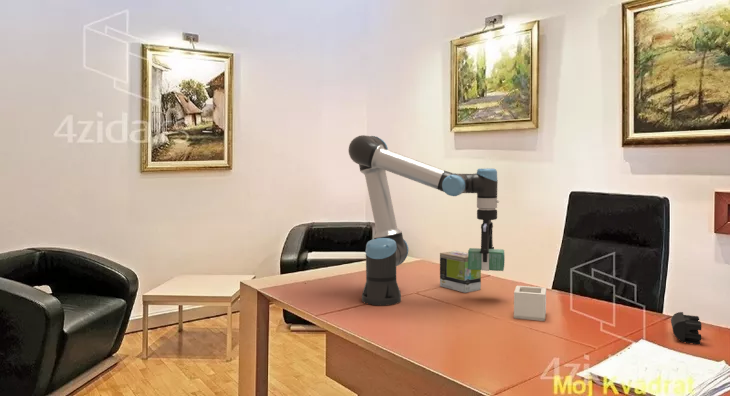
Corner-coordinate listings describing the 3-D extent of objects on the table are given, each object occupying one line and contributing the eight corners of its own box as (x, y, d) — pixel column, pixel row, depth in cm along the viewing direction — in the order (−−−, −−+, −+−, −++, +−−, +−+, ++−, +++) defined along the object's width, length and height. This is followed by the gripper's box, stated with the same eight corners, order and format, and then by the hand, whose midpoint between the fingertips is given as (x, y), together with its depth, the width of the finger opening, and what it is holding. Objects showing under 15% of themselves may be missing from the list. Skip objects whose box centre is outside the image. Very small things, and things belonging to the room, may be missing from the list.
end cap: (670, 332, 164) (671, 310, 164) (697, 335, 161) (698, 313, 160) (672, 342, 155) (673, 319, 155) (700, 345, 152) (701, 322, 151)
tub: (513, 318, 179) (514, 292, 179) (516, 310, 189) (516, 285, 188) (544, 321, 176) (545, 294, 175) (545, 312, 185) (546, 287, 184)
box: (504, 271, 197) (504, 251, 196) (467, 270, 201) (467, 250, 200) (504, 267, 204) (504, 248, 204) (469, 266, 208) (468, 247, 207)
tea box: (481, 290, 218) (481, 254, 217) (464, 293, 213) (464, 257, 212) (456, 283, 231) (456, 249, 230) (439, 286, 225) (438, 252, 224)
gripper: (493, 211, 190) (493, 274, 191) (500, 206, 209) (499, 263, 210) (472, 211, 192) (472, 273, 194) (481, 206, 211) (480, 262, 213)
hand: (486, 268), depth 202 cm, fingers closed on box, 8 cm apart
